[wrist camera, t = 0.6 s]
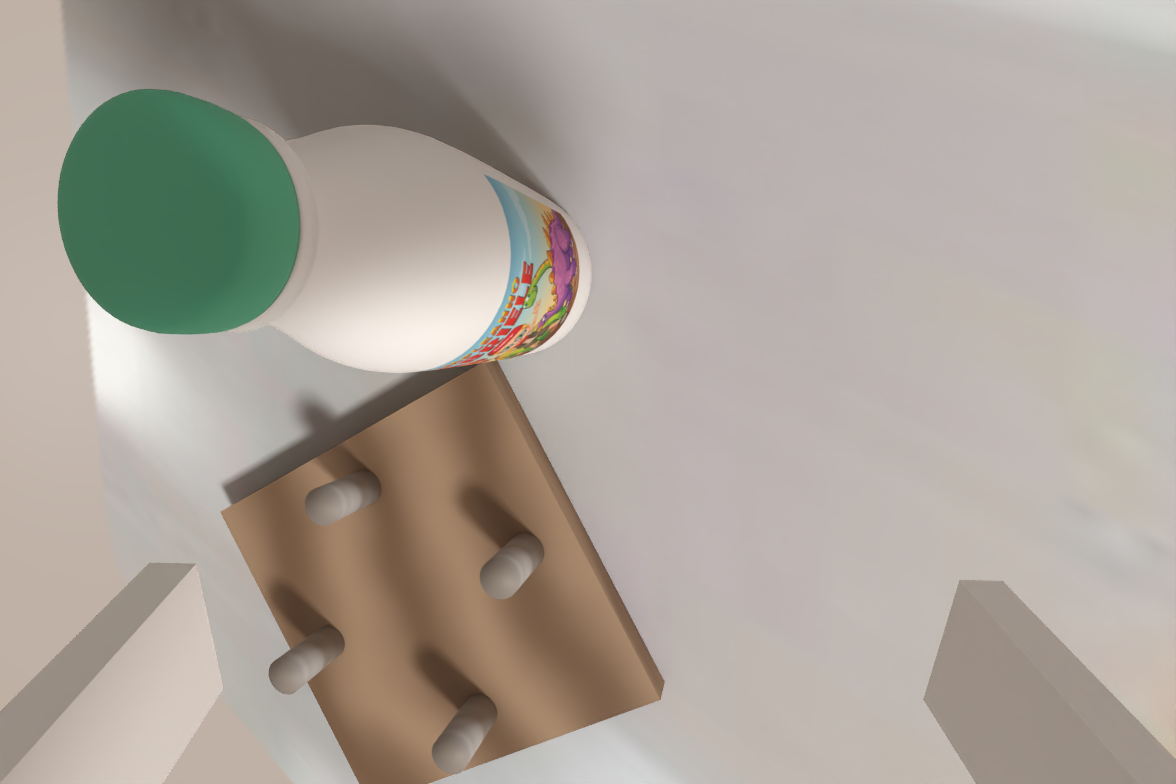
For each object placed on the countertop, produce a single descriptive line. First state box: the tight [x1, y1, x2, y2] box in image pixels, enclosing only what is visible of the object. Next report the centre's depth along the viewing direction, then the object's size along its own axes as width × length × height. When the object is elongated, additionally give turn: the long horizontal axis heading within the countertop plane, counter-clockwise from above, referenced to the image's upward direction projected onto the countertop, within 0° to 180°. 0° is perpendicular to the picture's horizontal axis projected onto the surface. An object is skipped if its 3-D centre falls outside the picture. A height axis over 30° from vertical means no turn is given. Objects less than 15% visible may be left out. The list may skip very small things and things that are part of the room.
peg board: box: [221, 360, 664, 784], centre depth 32 cm, size 18×18×5 cm
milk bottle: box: [58, 89, 592, 373], centre depth 22 cm, size 8×8×20 cm
